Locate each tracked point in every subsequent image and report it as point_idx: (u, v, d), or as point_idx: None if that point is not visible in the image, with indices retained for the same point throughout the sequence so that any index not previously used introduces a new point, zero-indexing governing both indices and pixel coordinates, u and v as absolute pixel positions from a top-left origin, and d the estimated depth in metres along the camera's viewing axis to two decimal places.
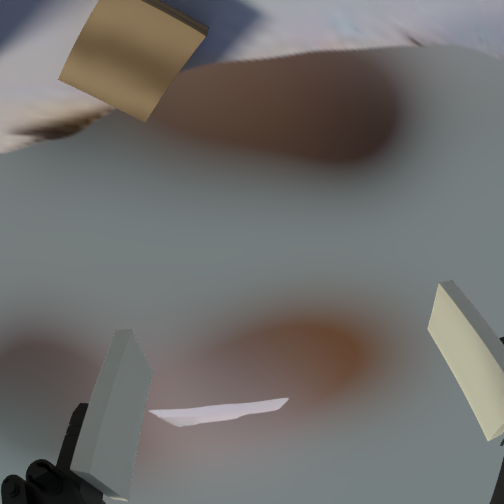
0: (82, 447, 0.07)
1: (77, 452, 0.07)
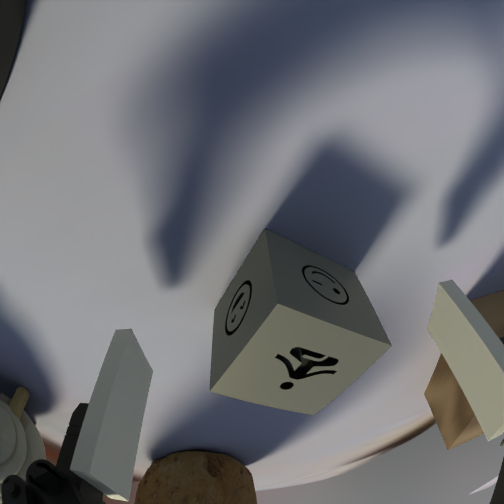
0: (82, 447, 0.07)
1: (77, 452, 0.07)
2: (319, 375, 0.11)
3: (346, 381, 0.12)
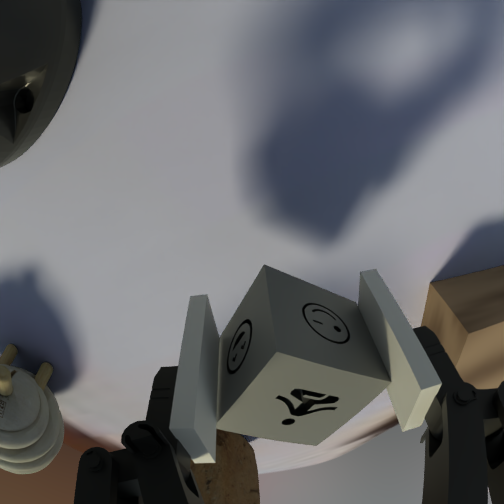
0: (180, 404, 0.09)
1: (175, 410, 0.09)
2: (320, 412, 0.11)
3: (347, 415, 0.11)
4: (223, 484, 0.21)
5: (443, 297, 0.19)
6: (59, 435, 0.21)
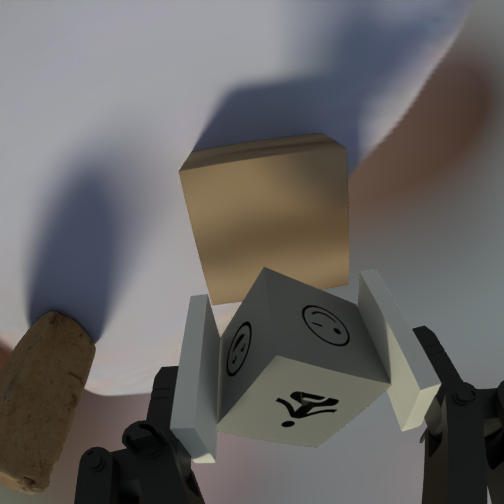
0: (181, 404, 0.09)
1: (176, 410, 0.09)
2: (320, 414, 0.11)
3: (347, 417, 0.11)
4: (37, 351, 0.24)
5: (189, 156, 0.22)
6: None
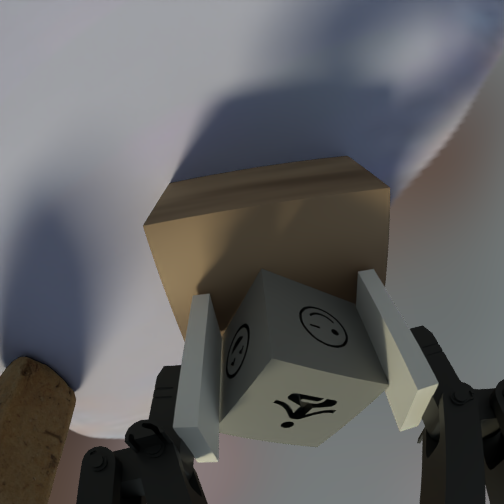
0: (183, 403, 0.09)
1: (179, 409, 0.09)
2: (319, 415, 0.11)
3: (346, 418, 0.11)
4: (7, 409, 0.18)
5: (165, 193, 0.16)
6: None
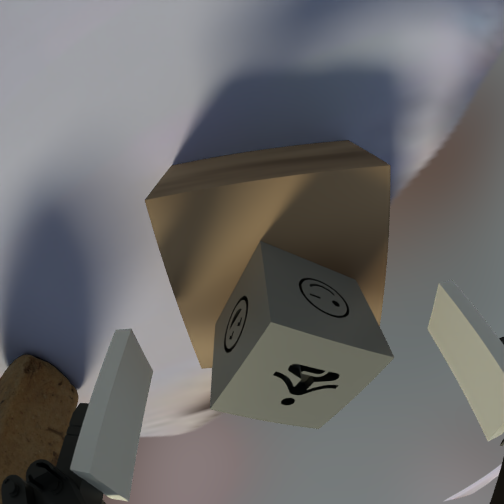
0: (82, 447, 0.07)
1: (77, 452, 0.07)
2: (320, 390, 0.11)
3: (349, 394, 0.11)
4: (11, 406, 0.18)
5: (167, 173, 0.16)
6: None
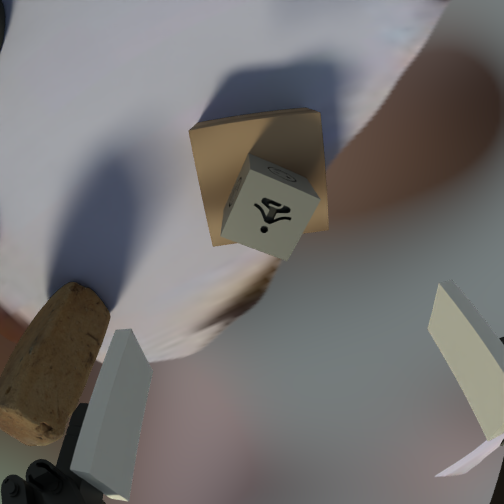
0: (82, 447, 0.07)
1: (77, 452, 0.07)
2: (282, 221, 0.21)
3: (300, 227, 0.22)
4: (60, 312, 0.29)
5: (196, 124, 0.26)
6: None
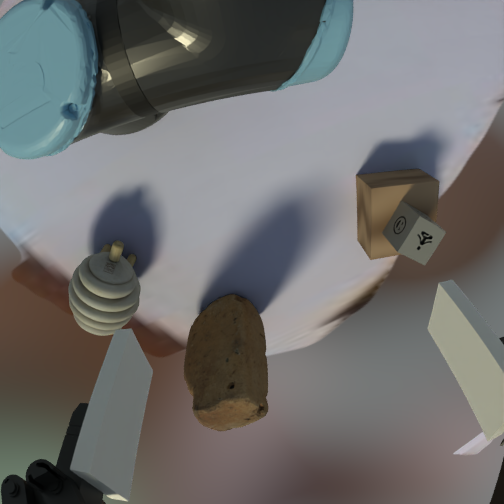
0: (82, 447, 0.07)
1: (77, 452, 0.07)
2: (427, 243, 0.34)
3: (434, 247, 0.35)
4: (244, 319, 0.43)
5: (361, 178, 0.39)
6: (137, 300, 0.43)
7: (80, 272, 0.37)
